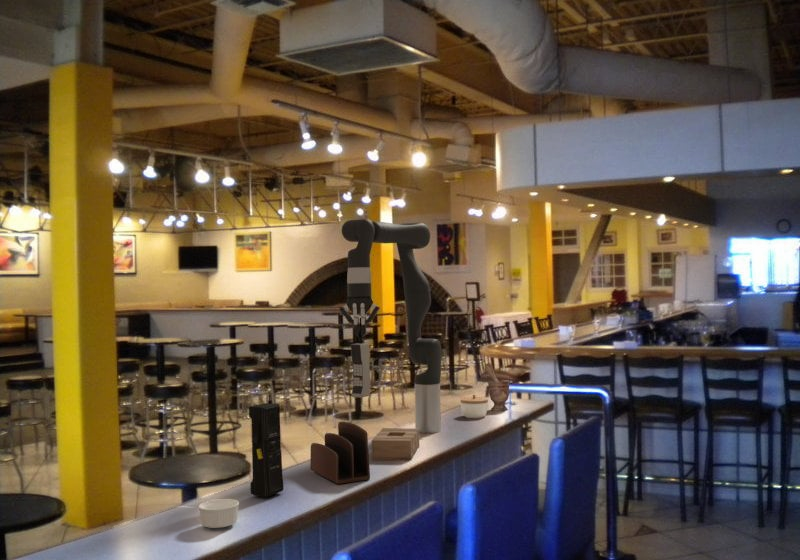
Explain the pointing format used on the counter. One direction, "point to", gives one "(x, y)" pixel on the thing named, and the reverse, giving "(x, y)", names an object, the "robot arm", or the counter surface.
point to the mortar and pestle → (497, 390)
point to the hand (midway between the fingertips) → (360, 336)
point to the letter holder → (342, 455)
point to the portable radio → (266, 449)
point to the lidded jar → (474, 407)
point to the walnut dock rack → (395, 444)
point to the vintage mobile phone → (360, 368)
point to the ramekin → (219, 513)
